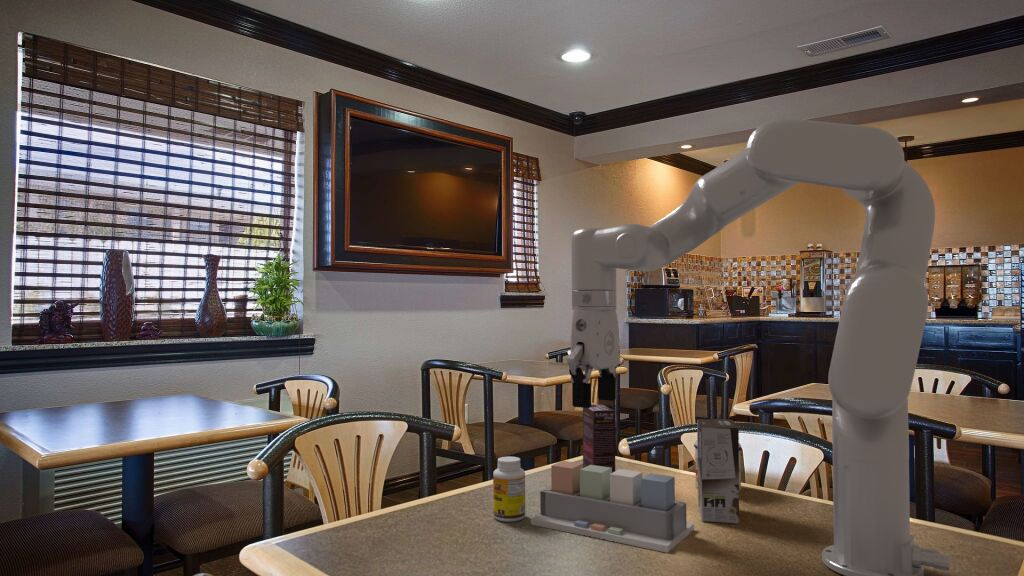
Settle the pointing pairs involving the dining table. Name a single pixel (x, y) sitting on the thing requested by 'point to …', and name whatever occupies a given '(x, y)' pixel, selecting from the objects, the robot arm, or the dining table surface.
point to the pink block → (566, 477)
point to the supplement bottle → (509, 490)
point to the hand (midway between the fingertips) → (594, 403)
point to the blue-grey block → (658, 492)
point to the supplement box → (599, 436)
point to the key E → (595, 482)
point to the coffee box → (718, 470)
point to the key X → (626, 487)
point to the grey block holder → (614, 520)
